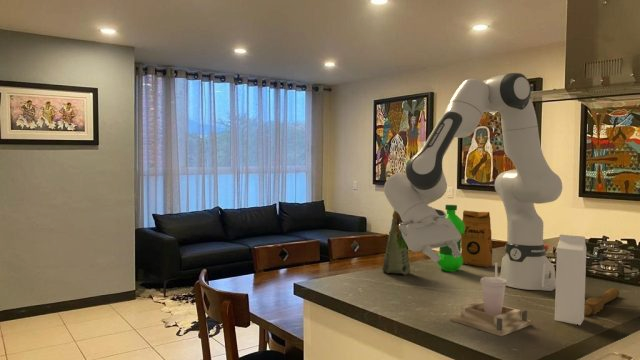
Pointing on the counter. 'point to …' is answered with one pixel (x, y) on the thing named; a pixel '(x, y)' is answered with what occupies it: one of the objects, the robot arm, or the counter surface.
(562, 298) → the milk
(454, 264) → the plastic bottle
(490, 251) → the coffee package
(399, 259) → the pouch
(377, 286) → the counter surface
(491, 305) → the smoothie
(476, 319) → the holder
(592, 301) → the tap handle
